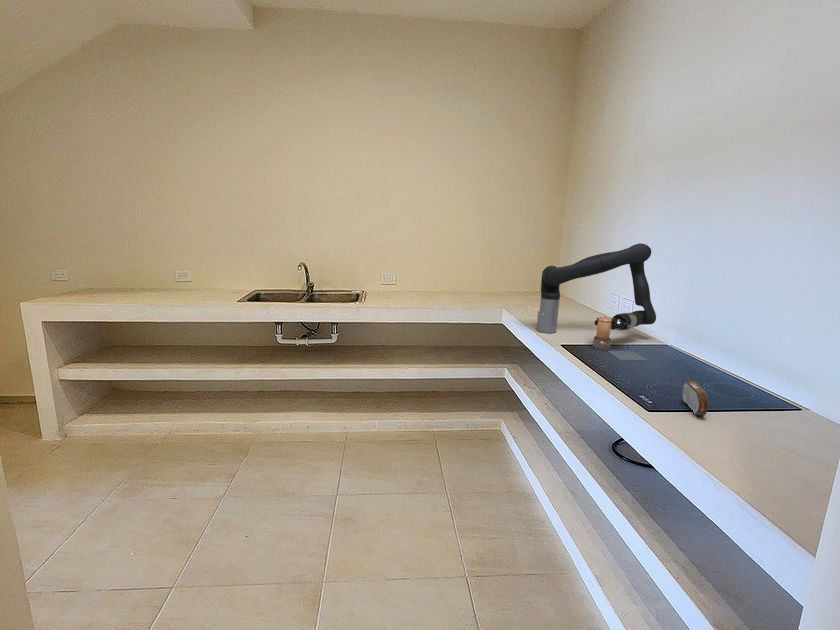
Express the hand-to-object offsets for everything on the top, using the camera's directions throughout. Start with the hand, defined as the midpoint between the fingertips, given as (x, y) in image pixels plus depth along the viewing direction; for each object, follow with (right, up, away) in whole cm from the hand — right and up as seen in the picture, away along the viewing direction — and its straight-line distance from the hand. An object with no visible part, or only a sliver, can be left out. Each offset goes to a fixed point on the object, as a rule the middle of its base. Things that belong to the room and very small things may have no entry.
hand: (603, 325), depth 215 cm
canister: (0, -11, +3) cm, 11 cm away
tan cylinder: (0, -7, +2) cm, 7 cm away
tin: (+6, -27, -60) cm, 66 cm away
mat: (+7, -14, -8) cm, 17 cm away
